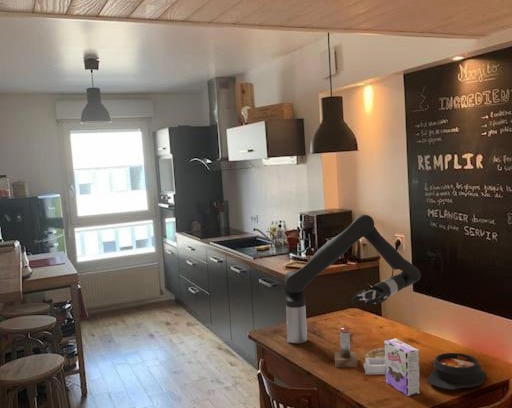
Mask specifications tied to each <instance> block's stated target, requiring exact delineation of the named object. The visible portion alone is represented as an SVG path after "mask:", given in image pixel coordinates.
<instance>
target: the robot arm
mask: <svg viewBox="0 0 512 408" xmlns="http://www.w3.org/2000/svg"><path fill="white" fill-rule="evenodd" d="M362 238H364V239H365V240H366V241H367V242H368V243H369V244H370V245H372V246H373V248H374V249H375V250H376V251H377V253H378V254H379V255H380V256H381V257H382V259H383V260H384V261H385V262H386V263H387V264H388V265H389V267H390V268H391V269H393V270H394V271H395V270H396V271H397V270H400V271H401V272H400V273H398V274H395V275H392V276H390V277H388V278H386V279H383V280H382V281H379V282H377V283H375V284H374V285H373V286H372V287H371V289H369V290H368V291H367V290H366V288H365V289H362V290H360V291H358V292H356V293H355V294H354V295H355V296H354V297H352V298H351V299H350V301H351V303H352V304H355V303H357V302H358V303H359V301H364V304H365V307H369V306H371V305H373V304H374V305H376V304H377V305H379V304H382V303H383V302H385V301H386V300H388V298H390V297H392V296H393V295H395V294H396V293H398V292H400V291H402V290H403V289H405V288H408V287H409V286H411V285H413V284H415V283H416V282H419V280H421V277H422V276H421V271H420V270H419V269H418V267H417V266H416V265H414V264H412V263H411V262H410V261H409V260H407V259H406V258H404V257H403V256H402V255H401V254H400V252H398V250H397V249H396V248H395V247H394V246H393V245H392V244H391V243H389V241H387V240H386V239H385V238H384V237H383V235H381V233H380V232H379V230H377V228H376V226H375V221H374V219H373V217H372V216H370V215H368V214H360V215H358V216H357V217H356V218H355V219H354V221H352V222H351V223H350V224H349V226H348V227H346V229H344V230H343V231H342V232H341V233H339V234H338V235H336V236H334V237H333V238H331V239H330V240H328V241H327V242H326V243H324V244H323V245H322V246H320V248H318V250H317V251H316V252H314V254H313V255H312V256H311V258H310V259H309V261H307V263H306V264H305V265H304V266H302V267H301V268H300V269H297V270H290V271H288V272H287V273H286V274H285V277H284V294H285V295H284V297H285V298H284V299H285V308H286V309H285V310H286V311H285V312H286V313H285V314H286V336H287V337H286V338H287V339H286V340H287V343H291V344H304V343H307V341H308V335H307V334H308V333H307V332H308V331H307V326H308V325H307V313H306V312H307V311H306V306H307V305H306V296H305V288H306V287H307V286H308V285H309V284H310V283H311V282H312V281H313V280H314V279H315V278H316V277H317V276H318V275H319V274H321V273H322V272H323V271H325V270H326V269H328V268H329V267H330V266H332V265H333V264H334V263H336V261H337V260H339V259H340V258H342V256H343V255H344V254H345V253H346V252H347V251H348V250H349V249H351V247H352V246H353V245H354V244H355V243H356V242H358V241H359V240H361V239H362Z"/></svg>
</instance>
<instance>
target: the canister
mask: <svg viewBox="0 0 512 408" xmlns="http://www.w3.org/2000/svg"><path fill="white" fill-rule="evenodd" d="M350 336H351V334H350V327H349V326H347V325H346V326H340V327H339V345H340V352H341V357H344V358H348V357H350V352H351V337H350Z"/></svg>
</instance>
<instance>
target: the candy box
mask: <svg viewBox="0 0 512 408" xmlns="http://www.w3.org/2000/svg"><path fill="white" fill-rule="evenodd" d="M383 351H384V353H383V354H384V355H383V356H384V358H385V374H384V376H385V377H384V378H385V379H384V380H385V381H384V382H385V383H386V384H388V385H389V386H391V387H393V388H394V389H395V390H397V391H399V392H400V393H401V394H403V395H404V396H406V397H410V396H415V395H420V392H421V391H420V390H421V389H420V388H421V387H420V385H421V384H420V350H419V348H415V347H414V346H411V345H409V344H407V342H403V341H402V340H399V339H398V338H391V339H387V340H383Z"/></svg>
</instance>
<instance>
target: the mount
mask: <svg viewBox="0 0 512 408" xmlns="http://www.w3.org/2000/svg"><path fill="white" fill-rule="evenodd" d="M333 353H334V354H333V355H334V365H335V368H358V366H359V365H358V356H357V352H356V351H350V357H348V358H344V357H341V351H334V352H333Z"/></svg>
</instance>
